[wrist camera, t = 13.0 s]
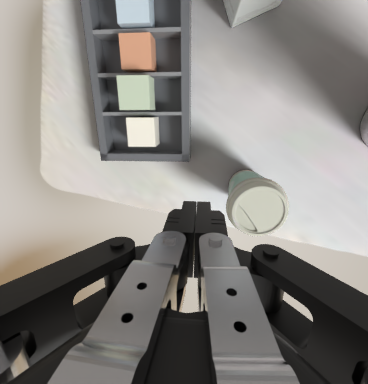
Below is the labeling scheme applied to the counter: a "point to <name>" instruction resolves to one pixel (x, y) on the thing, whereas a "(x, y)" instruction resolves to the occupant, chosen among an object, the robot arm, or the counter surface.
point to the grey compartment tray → (163, 79)
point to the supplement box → (247, 9)
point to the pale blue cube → (135, 14)
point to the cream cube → (143, 131)
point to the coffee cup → (256, 204)
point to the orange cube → (137, 52)
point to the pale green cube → (136, 92)
